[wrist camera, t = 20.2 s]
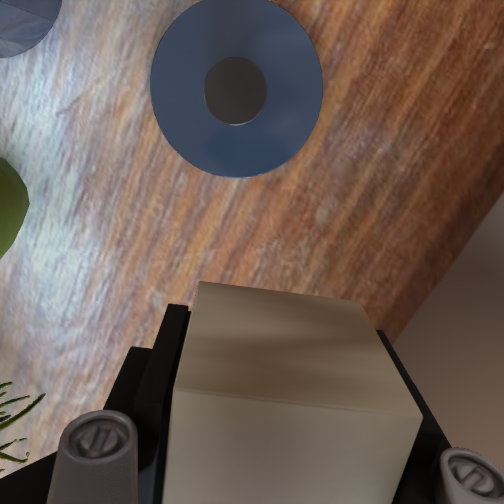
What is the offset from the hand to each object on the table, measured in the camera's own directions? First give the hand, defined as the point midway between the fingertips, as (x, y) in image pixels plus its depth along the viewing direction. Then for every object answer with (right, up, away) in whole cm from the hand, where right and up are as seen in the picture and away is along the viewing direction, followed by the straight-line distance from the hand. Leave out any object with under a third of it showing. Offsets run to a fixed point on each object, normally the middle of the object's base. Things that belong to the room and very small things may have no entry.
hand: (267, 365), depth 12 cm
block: (0, 0, 0) cm, 0 cm away
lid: (-1, +14, +16) cm, 21 cm away
